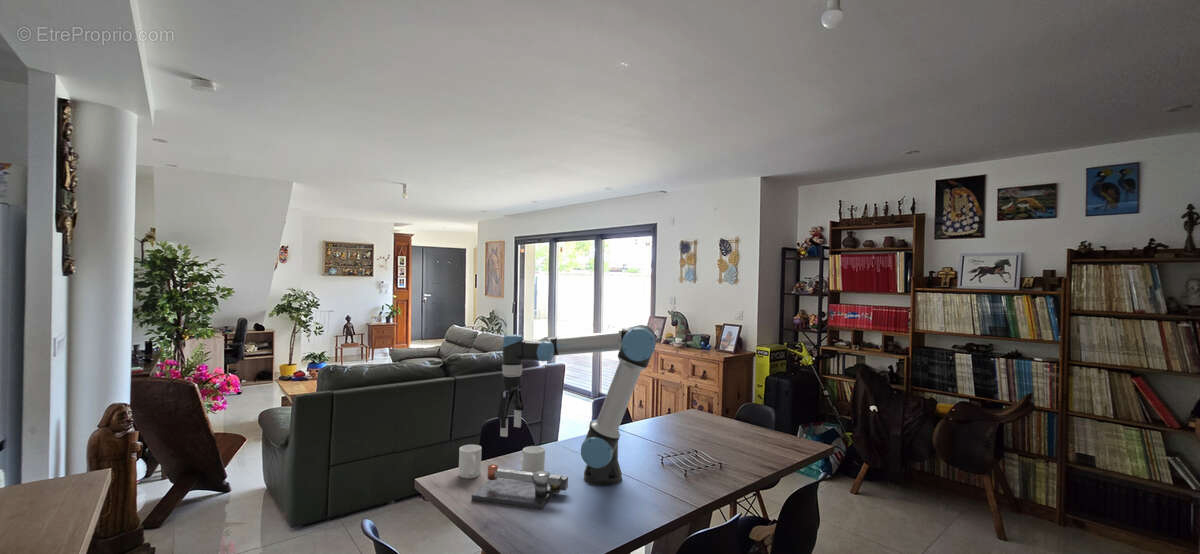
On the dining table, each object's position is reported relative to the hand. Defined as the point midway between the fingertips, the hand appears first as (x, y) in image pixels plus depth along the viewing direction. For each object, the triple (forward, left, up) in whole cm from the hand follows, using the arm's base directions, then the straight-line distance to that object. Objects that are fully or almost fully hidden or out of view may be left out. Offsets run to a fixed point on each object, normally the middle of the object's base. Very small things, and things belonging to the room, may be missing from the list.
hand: (510, 431), depth 188 cm
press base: (-8, +9, -20) cm, 24 cm away
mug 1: (+18, -3, -20) cm, 27 cm away
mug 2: (-3, -15, -20) cm, 25 cm away
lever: (-9, +9, -15) cm, 20 cm away
